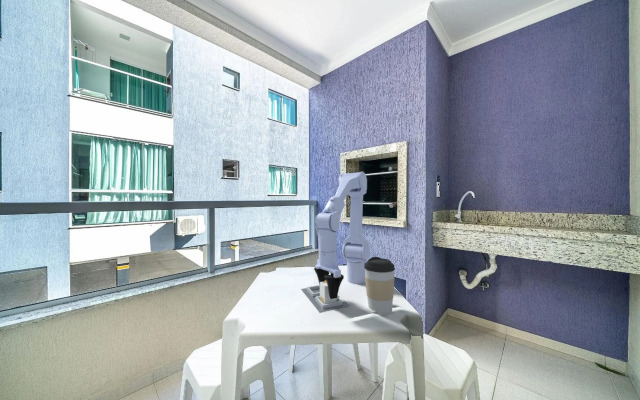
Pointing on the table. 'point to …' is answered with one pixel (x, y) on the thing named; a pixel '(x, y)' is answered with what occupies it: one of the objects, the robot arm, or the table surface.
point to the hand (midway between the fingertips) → (328, 293)
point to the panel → (314, 297)
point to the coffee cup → (379, 285)
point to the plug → (325, 294)
